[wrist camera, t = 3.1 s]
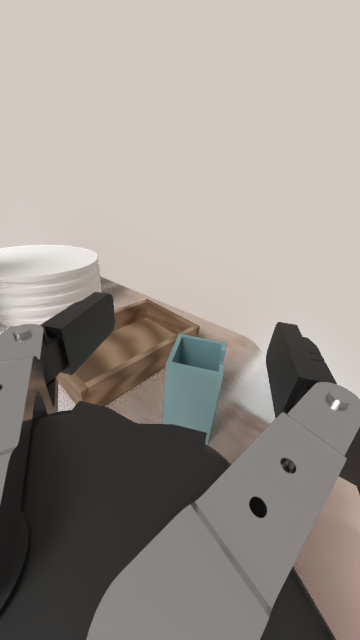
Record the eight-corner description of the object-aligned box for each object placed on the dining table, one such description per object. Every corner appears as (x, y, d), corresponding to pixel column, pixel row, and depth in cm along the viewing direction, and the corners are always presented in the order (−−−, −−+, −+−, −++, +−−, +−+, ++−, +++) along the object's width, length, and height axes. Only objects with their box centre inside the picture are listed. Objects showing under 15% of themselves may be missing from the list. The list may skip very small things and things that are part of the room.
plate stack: (115, 285, 72) (112, 249, 66) (74, 332, 48) (63, 282, 42) (31, 277, 73) (21, 241, 67) (-52, 320, 48) (-79, 268, 43)
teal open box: (207, 445, 28) (223, 376, 22) (162, 433, 29) (165, 363, 23) (212, 407, 33) (226, 342, 27) (173, 398, 34) (179, 333, 28)
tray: (86, 417, 30) (80, 392, 28) (42, 360, 39) (35, 337, 37) (196, 346, 46) (199, 326, 43) (147, 317, 55) (147, 299, 53)
